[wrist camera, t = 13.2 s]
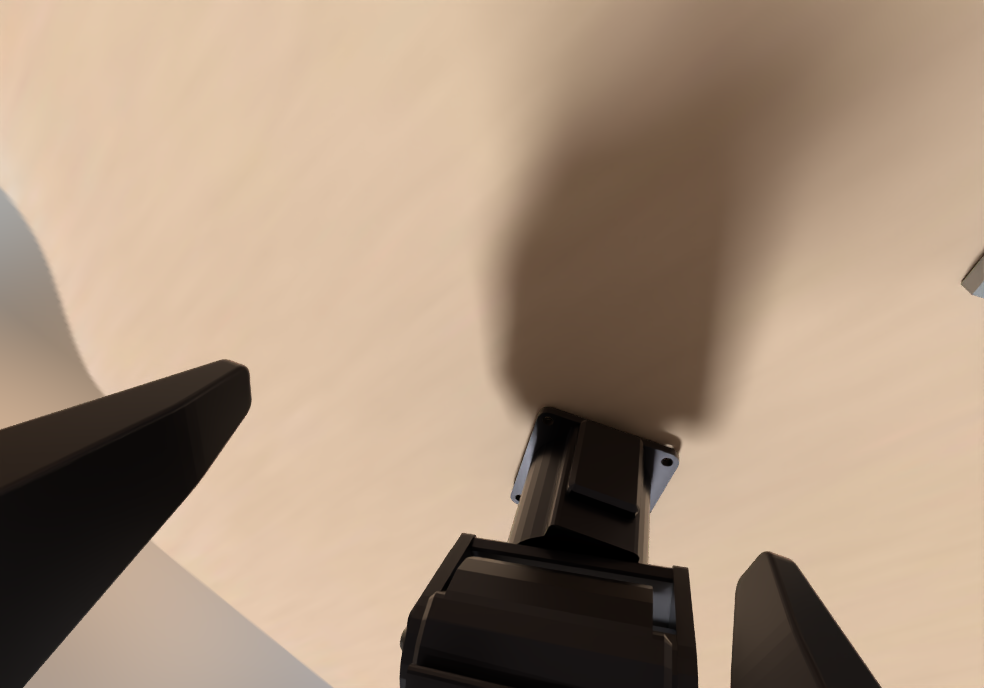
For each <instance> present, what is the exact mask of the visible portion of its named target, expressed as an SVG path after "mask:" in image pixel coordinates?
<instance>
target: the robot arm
mask: <svg viewBox="0 0 984 688" xmlns="http://www.w3.org/2000/svg"><path fill="white" fill-rule="evenodd" d="M251 400H252V399H251V386H250V373H249V370H248V368H247V367H246V366H245V365H242V364H239V363H237V362H234V361H231V360H227V359H223V360H219V361H216V362H212V363H209V364H206V365H203V366H200V367H197V368H193V369H190V370H187V371H184V372H181V373H178V374H174V375H171V376H168V377H165V378H162V379H159V380H156V381H152V382H149V383H146V384H143V385H140V386H137V387H133V388H130V389H127V390H124V391H121V392H118V393H114V394H111V395H108V396H105V397H102V398H99V399H96V400H93V401H90V402H86V403H83V404H80V405H77V406H73V407H70V408H67V409H64V410H61V411H58V412H54V413H51V414H48V415H45V416H42V417H39V418H35V419H32V420H29V421H26V422H23V423H20V424H16V425H13V426H10V427H7V428H4V429H1V430H0V688H23V687H24V686H25V685H26V683H27V682H28V681H29V680H30V679H31V678H32V677H33V675H34V674H35V673H36V672H37V671H38V670H39V668H40V667H41V666H42V665H43V664H44V663H45V661H46V660H47V659H48V658H49V657H50V655H51V654H52V653H53V652H54V651H55V650H56V649H57V647H58V646H59V645H60V644H61V643H62V642H63V641H64V639H65V638H66V637H67V636H68V635H69V633H70V632H71V631H72V630H73V629H74V628H75V627H76V625H77V624H78V623H79V622H80V621H81V620H82V618H83V617H84V616H85V615H86V614H87V613H88V611H89V610H90V609H91V608H92V607H93V606H94V605H95V603H96V602H97V601H98V600H99V599H100V598H101V596H102V595H103V594H104V593H105V592H106V590H107V589H108V588H109V587H110V586H111V585H112V584H113V582H114V581H115V580H116V579H117V578H118V577H119V575H120V574H121V573H122V572H123V571H124V570H125V568H126V567H127V566H128V565H129V564H130V563H131V562H132V560H133V559H134V558H135V557H136V556H137V554H138V553H139V552H140V551H141V550H142V549H143V548H144V546H145V545H146V544H147V543H148V542H149V541H150V540H151V538H152V537H153V536H154V535H155V534H156V533H157V531H158V530H159V529H160V528H161V527H162V526H163V524H164V523H165V522H166V521H167V520H168V519H169V517H170V516H171V515H172V514H173V513H174V512H175V510H176V509H177V508H178V507H179V506H180V505H181V504H182V502H183V501H184V500H185V499H186V498H187V497H188V495H189V494H190V493H191V492H192V491H193V489H194V488H195V487H196V486H197V484H198V483H199V482H200V480H201V479H202V478H203V476H204V475H205V474H206V472H207V471H208V470H209V468H210V467H211V465H212V464H213V462H214V461H215V459H216V458H217V457H218V455H219V454H220V452H221V451H222V449H223V448H224V446H225V445H226V444H227V442H228V441H229V439H230V438H231V436H232V435H233V434H234V432H235V431H236V429H237V428H238V426H239V425H240V423H241V422H242V421H243V419H244V418H245V416H246V415H247V413H248V411H249V409H250V406H251ZM545 417H550V418H552V419H553V420H548V419H546V418H545ZM663 458H670V459H671V460H664V459H663ZM678 465H679V455H678V453H677V452H676V450H674V449H672V448H669V447H666V446H663V445H660V444H657V443H655V442H652V441H649V440H646V439H643V438H640V437H637V436H634V435H631V434H628V433H625V432H622V431H619V430H616V429H614V428H611V427H608V426H605V425H602V424H599V423H596V422H593V421H590V420H587V419H584V418H581V417H578V416H575V415H572V414H570V413H567V412H564V411H561V410H558V409H555V408H552V407H544V408H542V409H541V410H540V411H539V414H538V417H537V420H536V423H535V425H534V428H533V431H532V434H531V437H530V440H529V443H528V446H527V449H526V452H525V455H524V457H523V460H522V463H521V466H520V469H519V472H518V475H517V478H516V481H515V484H514V487H513V489H512V493H511V499H512V501H513V502H514V503H516V504H518V508H517V511H516V514H515V518H514V521H513V525H512V528H511V531H510V535H509V538H508V541H507V542H502V541H496V540H489V539H483V538H476V535H473V534H466V533H462V534H461V536H460V537H459V539H458V540H457V542H456V543H455V545H454V546H453V548H452V549H451V550H450V552H449V553H448V555H447V556H446V558H445V559H444V561H443V562H442V564H441V566H440V567H439V569H438V570H437V572H436V573H435V575H434V576H433V578H432V579H431V581H430V583H429V584H428V586H427V587H426V589H425V590H424V592H423V593H422V595H421V596H420V598H419V600H418V601H417V603H416V604H415V606H414V607H413V609H412V610H411V612H410V614H409V617H408V622H407V628H405V630H404V631H403V633H402V636H401V640H400V647H401V649H402V657H401V664H400V688H698V667H697V652H696V641H695V631H694V621H693V611H692V601H691V591H690V581H689V571H688V568H686V567H680V566H673V567H672V568H669V567H663V566H656V565H650V564H648V554H649V523H650V513H651V511H652V509H653V507H654V506H655V504H656V502H657V501H658V499H659V497H660V496H661V494H662V492H663V491H664V489H665V487H666V486H667V484H668V482H669V481H670V479H671V477H672V476H673V474H674V472H675V471H676V469H677V467H678ZM731 688H882V687H881V686H880V685H879V683H878V682H877V680H876V679H875V677H874V676H873V674H872V673H871V672H870V670H869V669H868V667H867V666H866V664H865V663H864V661H863V660H862V659H861V657H860V656H859V654H858V653H857V651H856V650H855V648H854V647H853V646H852V644H851V643H850V641H849V640H848V638H847V637H846V635H845V634H844V633H843V631H842V630H841V628H840V627H839V625H838V624H837V622H836V621H835V620H834V618H833V617H832V615H831V614H830V612H829V611H828V609H827V608H826V607H825V605H824V604H823V602H822V601H821V599H820V598H819V596H818V595H817V594H816V592H815V591H814V589H813V588H812V586H811V585H810V584H809V582H808V581H807V579H806V578H805V576H804V575H803V573H802V572H801V571H800V569H799V568H798V566H797V565H796V564H795V563H794V562H793V561H792V560H791V559H789V558H786V557H783V556H780V555H778V554H775V553H772V552H768V551H766V552H763V553H761V554H760V555H759V556H758V557H757V558H756V560H755V561H754V562H753V563H752V564H751V566H750V567H749V568H748V569H747V570H746V571H745V573H744V574H743V575H742V576H741V578H740V579H739V581H738V584H737V587H736V593H735V610H734V627H733V645H732V663H731Z"/></svg>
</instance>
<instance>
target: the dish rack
mask: <svg viewBox="0 0 984 688" xmlns="http://www.w3.org/2000/svg"><path fill="white" fill-rule="evenodd" d="M961 285H962V286H963V287H964V288H965V289H966V290H968V291H969V292H970V293H971V294H972V295H974V296H978V297H981V298H984V256H983V257H982V258H981V259H980V261H979V262H978V263H977V264H976V266H975V267H974V268H973V269H972V271H971V272H970V273H969V274H968V275H967V277H966V278H965V279H964V280H963V282H962V283H961Z"/></svg>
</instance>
